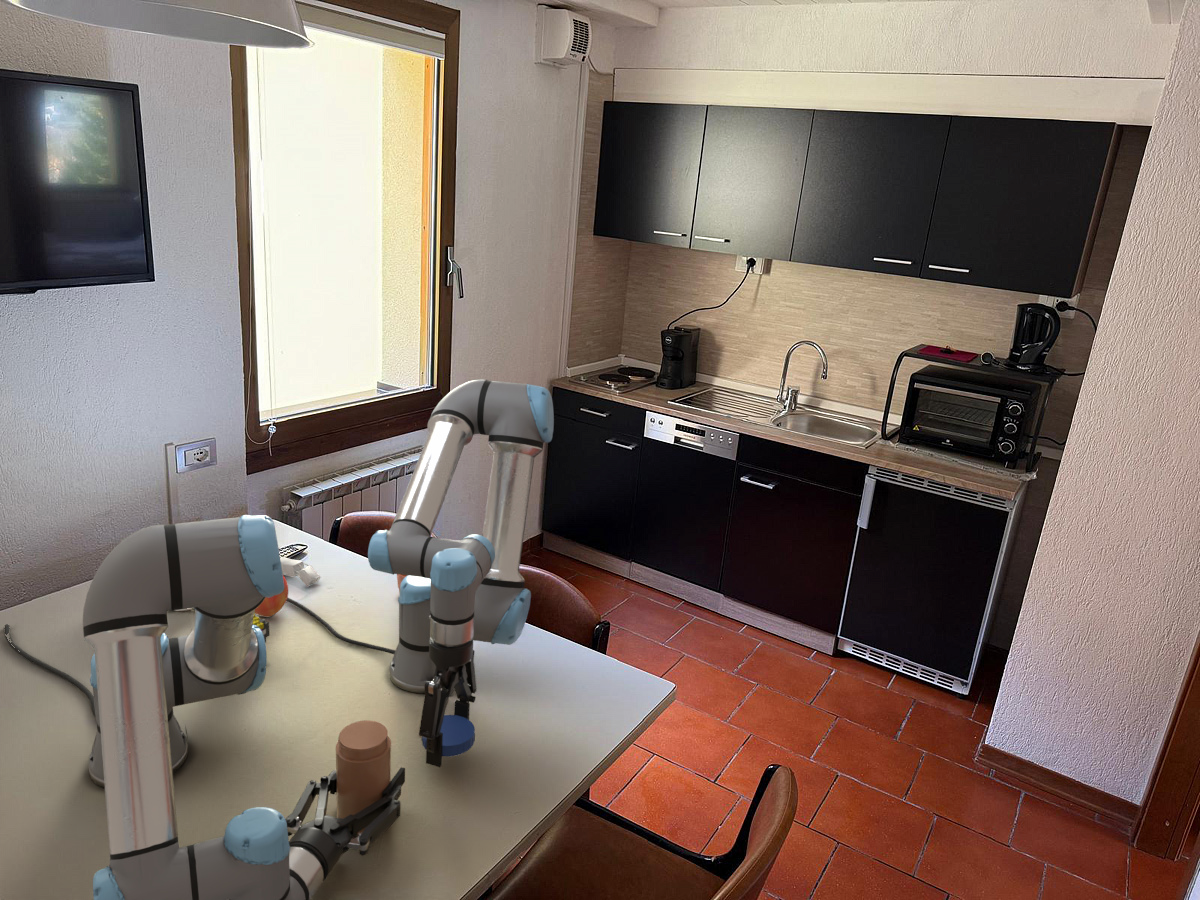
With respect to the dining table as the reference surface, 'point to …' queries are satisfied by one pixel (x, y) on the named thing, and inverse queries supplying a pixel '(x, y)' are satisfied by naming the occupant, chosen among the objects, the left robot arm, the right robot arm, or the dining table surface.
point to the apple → (273, 603)
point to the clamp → (299, 570)
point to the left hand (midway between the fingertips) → (377, 768)
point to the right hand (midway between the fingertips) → (447, 748)
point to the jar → (361, 766)
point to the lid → (455, 735)
